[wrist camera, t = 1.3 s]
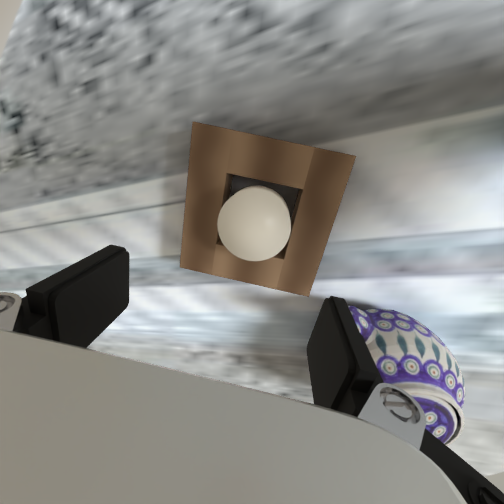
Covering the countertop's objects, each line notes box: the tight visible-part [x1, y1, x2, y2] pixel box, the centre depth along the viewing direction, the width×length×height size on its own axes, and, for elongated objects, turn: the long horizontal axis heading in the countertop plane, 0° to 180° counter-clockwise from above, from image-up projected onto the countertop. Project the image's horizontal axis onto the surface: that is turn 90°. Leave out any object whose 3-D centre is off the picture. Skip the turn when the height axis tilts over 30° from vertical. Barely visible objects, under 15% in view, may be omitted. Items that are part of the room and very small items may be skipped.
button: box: [217, 185, 291, 261], centre depth 24 cm, size 7×7×4 cm
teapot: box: [348, 306, 465, 446], centre depth 28 cm, size 25×15×15 cm, turn 36°
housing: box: [180, 122, 356, 297], centre depth 28 cm, size 16×16×4 cm
